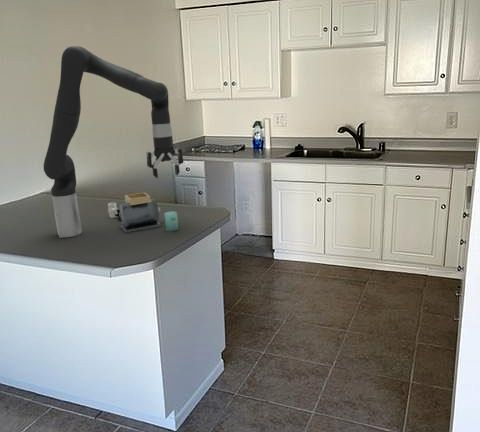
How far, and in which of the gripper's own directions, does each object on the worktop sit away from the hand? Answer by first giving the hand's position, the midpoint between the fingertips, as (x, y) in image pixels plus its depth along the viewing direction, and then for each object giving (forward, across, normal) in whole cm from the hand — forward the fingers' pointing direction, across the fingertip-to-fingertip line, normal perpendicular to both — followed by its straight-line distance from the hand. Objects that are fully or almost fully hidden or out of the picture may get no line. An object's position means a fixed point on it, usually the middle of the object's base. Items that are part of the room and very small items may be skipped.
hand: (166, 176), depth 190 cm
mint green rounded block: (+22, 0, 0) cm, 23 cm away
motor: (+22, -10, +12) cm, 27 cm away
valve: (+23, -16, +31) cm, 42 cm away
